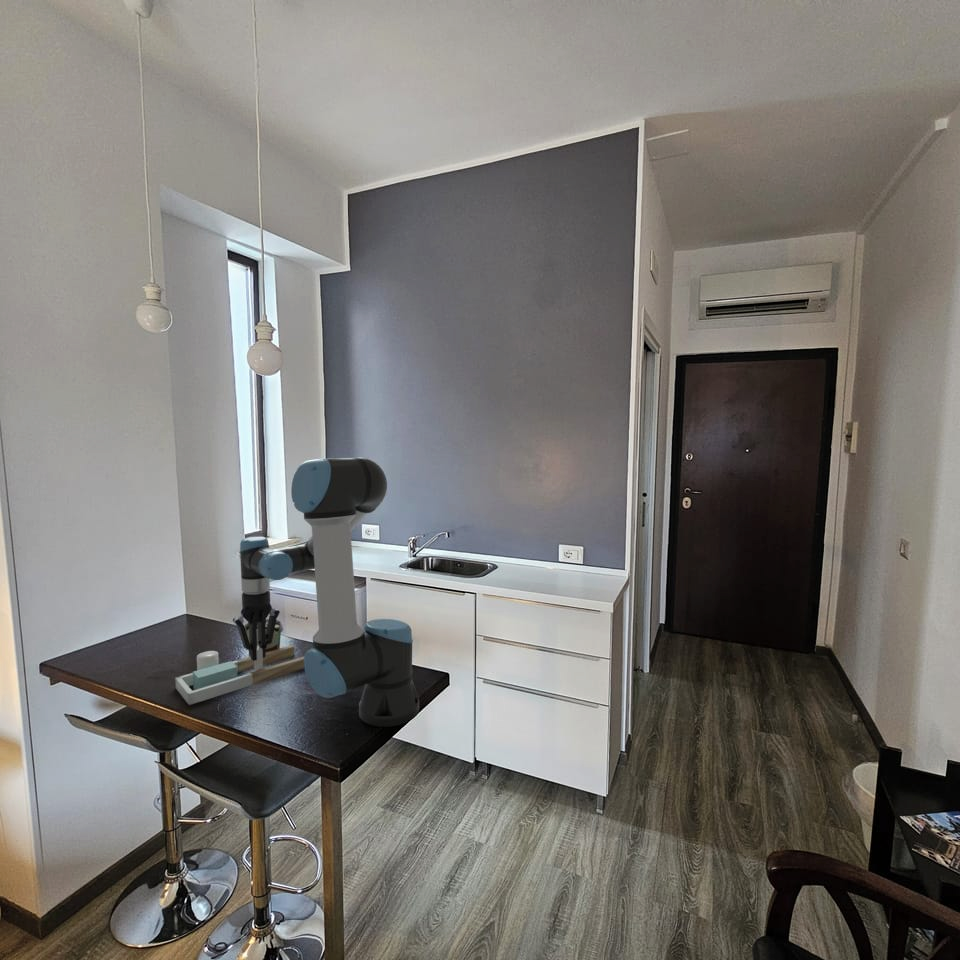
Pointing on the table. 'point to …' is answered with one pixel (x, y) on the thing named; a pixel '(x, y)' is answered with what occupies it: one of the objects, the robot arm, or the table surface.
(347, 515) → the robot arm
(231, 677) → the pale teal block
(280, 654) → the guide channel
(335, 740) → the table surface
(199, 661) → the white rounded capsule
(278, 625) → the food container
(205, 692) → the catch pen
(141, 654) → the table surface
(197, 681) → the pale teal cube
